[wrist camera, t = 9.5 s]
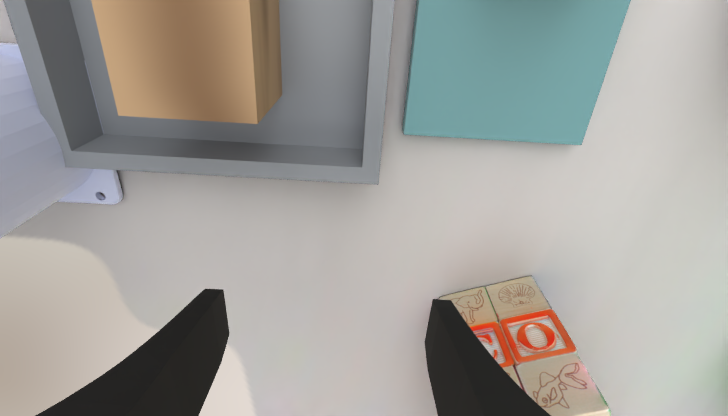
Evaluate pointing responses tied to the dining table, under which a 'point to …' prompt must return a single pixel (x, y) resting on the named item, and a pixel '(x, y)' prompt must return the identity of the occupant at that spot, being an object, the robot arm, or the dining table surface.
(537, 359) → the stack of blocks
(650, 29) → the dining table surface
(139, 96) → the plain box
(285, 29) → the tray
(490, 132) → the teal board
